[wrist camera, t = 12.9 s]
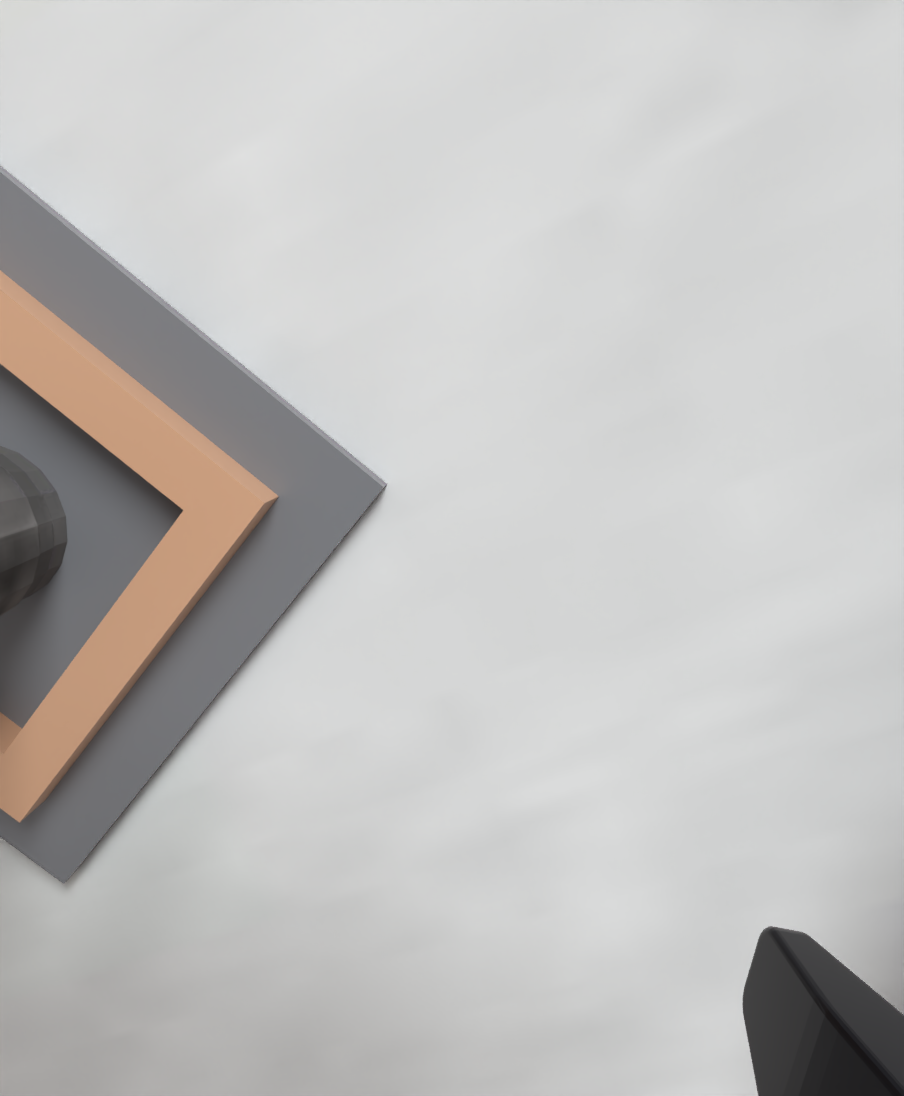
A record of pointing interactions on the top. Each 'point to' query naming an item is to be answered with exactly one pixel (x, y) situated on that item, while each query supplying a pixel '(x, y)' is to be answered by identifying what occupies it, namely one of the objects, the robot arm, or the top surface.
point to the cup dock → (137, 528)
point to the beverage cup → (27, 529)
